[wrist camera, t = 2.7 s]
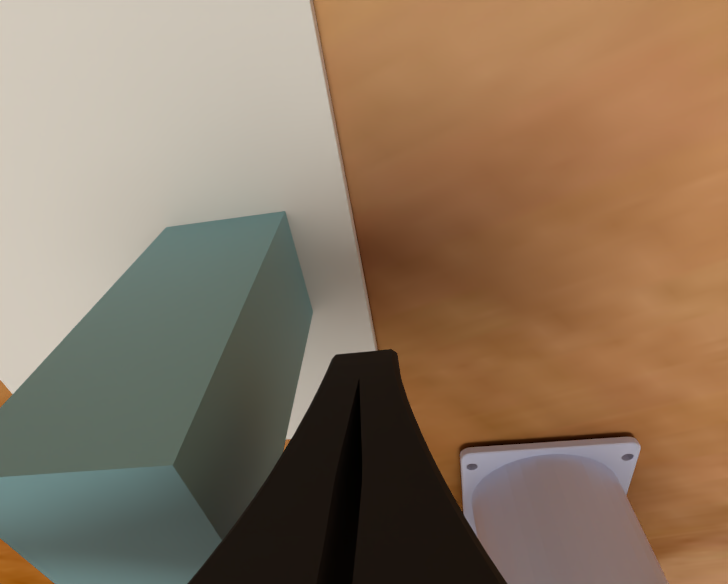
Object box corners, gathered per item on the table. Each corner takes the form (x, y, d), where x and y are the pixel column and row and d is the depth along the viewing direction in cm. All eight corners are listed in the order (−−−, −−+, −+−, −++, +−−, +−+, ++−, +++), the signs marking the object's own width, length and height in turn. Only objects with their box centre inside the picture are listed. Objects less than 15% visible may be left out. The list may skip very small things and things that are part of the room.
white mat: (391, 420, 20) (391, 431, 20) (72, 445, 22) (65, 455, 22) (296, -88, 10) (292, -92, 10) (-269, 34, 12) (-297, 35, 12)
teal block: (313, 312, 16) (253, 588, 9) (209, 323, 17) (67, 594, 9) (285, 210, 14) (173, 465, 6) (166, 227, 14) (-69, 482, 7)
